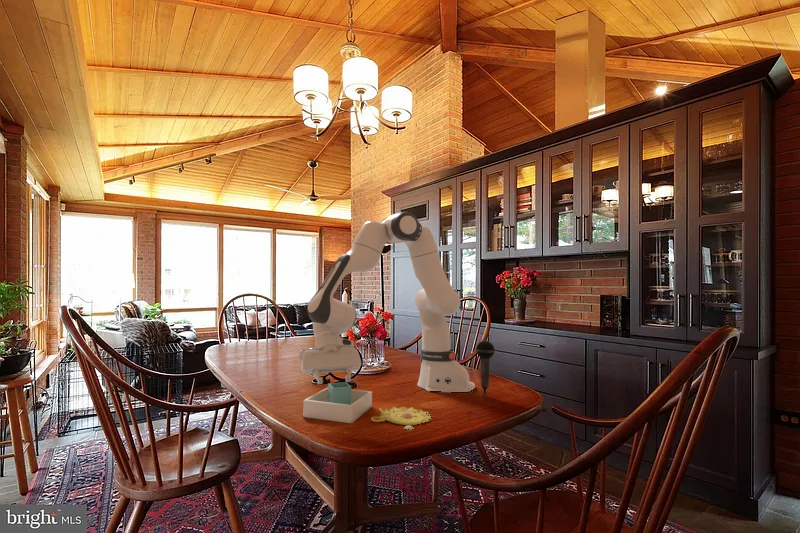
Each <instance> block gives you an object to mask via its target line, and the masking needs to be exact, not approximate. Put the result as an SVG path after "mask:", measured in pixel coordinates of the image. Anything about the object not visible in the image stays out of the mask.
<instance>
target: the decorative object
mask: <svg viewBox="0 0 800 533" xmlns="http://www.w3.org/2000/svg"><path fill="white" fill-rule="evenodd" d="M378 410H379V412H380V413H379V416H372V417H371V421H373V422H376V423H379V422H381V423H384V422H386V421H388V422H389V423H393V424H396V425H402V426H404V425H405V426H404V427H403V429H404V430H405V429H407V430H406V431H412V429H413V430H414V429H415V428H414V427H413V426H417V424H419V425H422V424H421V423H423V424H425V422H426V423H428V422H431V420H433V418H431V417H432V415H431V414H430V411H423V409H415V408H414V407H405V406H401V407H395V406H392V408H385V409H384V410H383V409H382V408H380V407H378ZM426 413H427V414H426ZM428 415H429V416H428ZM430 415H431V416H430ZM429 419H430V420H429ZM408 429H409V430H408Z"/></svg>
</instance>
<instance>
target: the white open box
mask: <svg viewBox="0 0 800 533" xmlns="http://www.w3.org/2000/svg"><path fill="white" fill-rule="evenodd" d="M302 404H303V405H302V407H303V409H302V410H303V412H302V418H308V419H315V420H316V419H317V420H322V421H331V422H337V423H347V424H353V423H354V422H355V421H356V420H358V419H359V418H360V417H361V416H362V415H364V414H365V413H367V412H368V410H370V409H371V408H373V391H370V390H364V389H363V390H362V389H361V390H359V389H352V388H351V405H347V404H339V403H330V402H328V386H327V387H326V388H323V389H322V390H320V391H317V392H315V393H314V394H312V395H311V396H309V397H307V398H305V399H303V403H302Z"/></svg>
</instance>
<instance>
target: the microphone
mask: <svg viewBox="0 0 800 533" xmlns="http://www.w3.org/2000/svg"><path fill="white" fill-rule="evenodd" d="M495 351H496V349H495V347H494V345H493V343H492V342H491V341H488V340H483V341H480V342H478V344H477V345H476V347H475V352H476V354H477V356H478V357H479V358H480V383H481V384H480V386H481V388H482V389H483V394H482V395H487V390H488V389H489V387H490V384H489V382H490V362H491V358H492V357H493V356H494V354H495Z"/></svg>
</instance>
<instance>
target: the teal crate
mask: <svg viewBox="0 0 800 533" xmlns="http://www.w3.org/2000/svg"><path fill="white" fill-rule="evenodd" d="M327 387H328V402H330V403H339V404H347V405H351V389H352V386H351V385H350V384H349V383H348V382H346V381H344V382H343V381H342V382H341V381H340V382H332V383H331V382H330V383H327Z"/></svg>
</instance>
